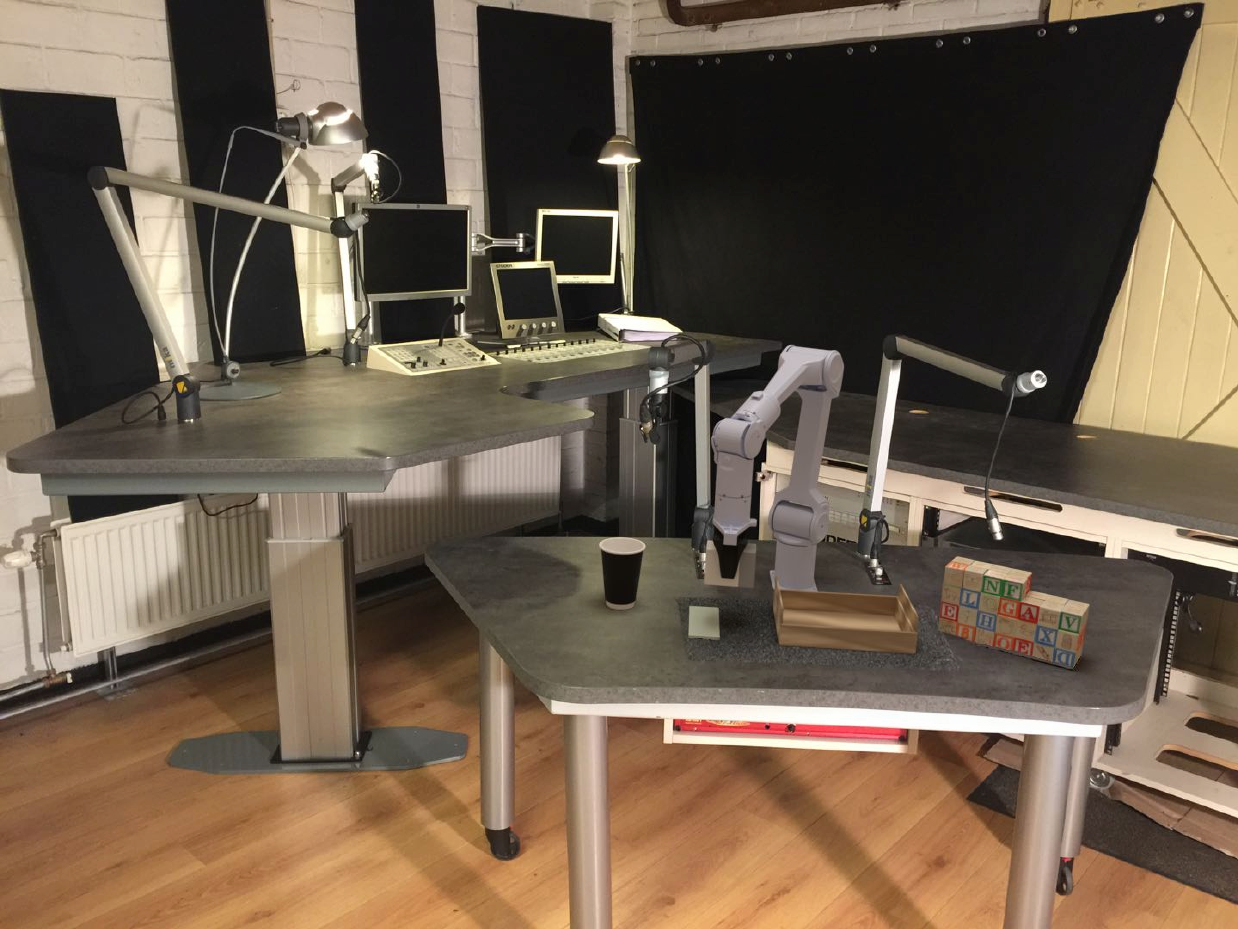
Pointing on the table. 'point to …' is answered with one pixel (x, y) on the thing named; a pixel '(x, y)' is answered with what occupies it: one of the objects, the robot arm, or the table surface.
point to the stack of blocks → (1010, 612)
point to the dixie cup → (621, 570)
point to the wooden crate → (845, 620)
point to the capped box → (744, 569)
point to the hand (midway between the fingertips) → (728, 572)
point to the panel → (704, 622)
